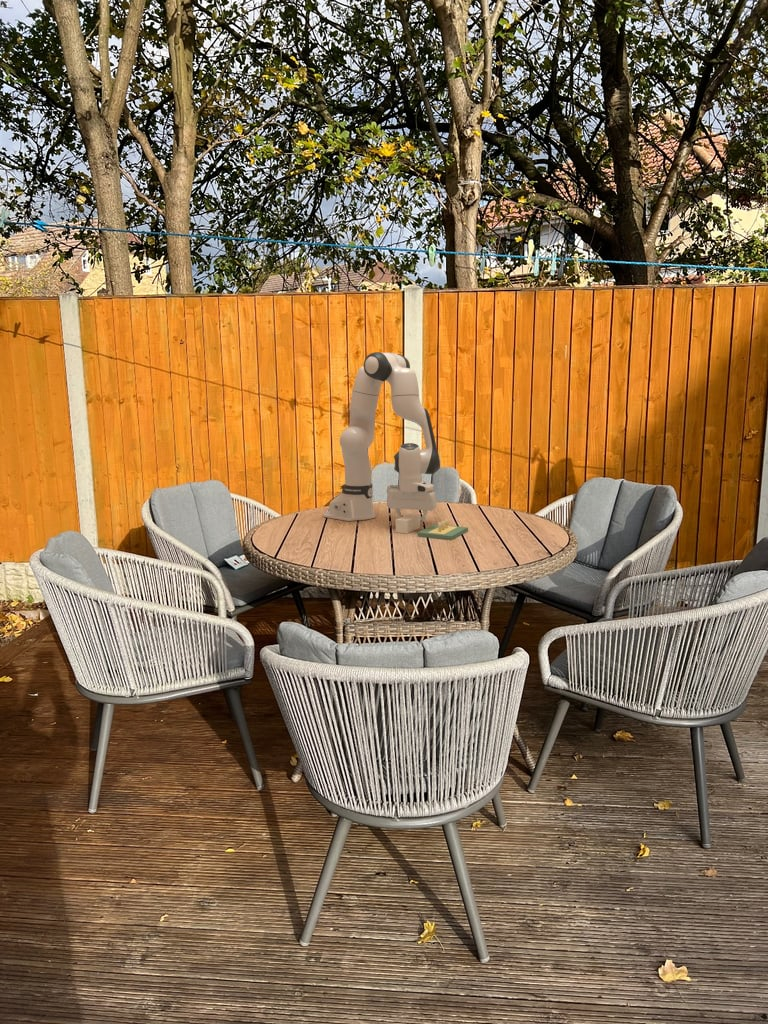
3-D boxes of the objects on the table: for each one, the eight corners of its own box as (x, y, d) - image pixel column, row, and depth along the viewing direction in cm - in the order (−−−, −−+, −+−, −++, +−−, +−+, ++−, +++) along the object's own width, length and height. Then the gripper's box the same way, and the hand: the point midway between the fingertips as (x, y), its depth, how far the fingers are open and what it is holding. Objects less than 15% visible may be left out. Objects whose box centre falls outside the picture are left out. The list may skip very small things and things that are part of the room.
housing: (395, 532, 295) (395, 519, 294) (408, 526, 305) (408, 514, 304) (407, 533, 293) (407, 520, 292) (420, 527, 302) (420, 515, 301)
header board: (417, 536, 288) (417, 523, 287) (435, 527, 302) (435, 515, 301) (451, 540, 282) (451, 527, 281) (467, 531, 295) (468, 518, 294)
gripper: (383, 485, 297) (384, 520, 300) (431, 488, 288) (432, 523, 291) (390, 483, 303) (391, 517, 306) (437, 485, 294) (438, 520, 297)
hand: (411, 520), depth 298 cm, fingers open, 8 cm apart
